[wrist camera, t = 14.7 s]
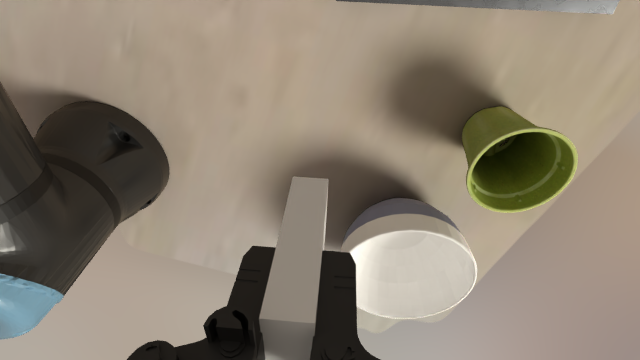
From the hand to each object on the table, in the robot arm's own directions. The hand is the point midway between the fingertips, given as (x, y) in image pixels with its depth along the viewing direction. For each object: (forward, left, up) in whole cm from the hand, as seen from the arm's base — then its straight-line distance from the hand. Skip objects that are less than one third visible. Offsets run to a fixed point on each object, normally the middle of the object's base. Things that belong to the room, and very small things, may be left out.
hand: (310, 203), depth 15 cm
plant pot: (+18, -8, -25) cm, 32 cm away
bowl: (+10, -23, -25) cm, 35 cm away
